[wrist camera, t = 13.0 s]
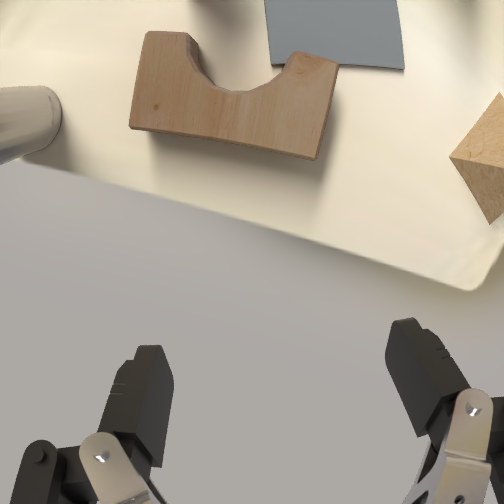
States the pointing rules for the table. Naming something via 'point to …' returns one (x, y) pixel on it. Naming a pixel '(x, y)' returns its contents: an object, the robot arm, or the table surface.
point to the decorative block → (231, 99)
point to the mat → (336, 31)
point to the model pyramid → (484, 160)
